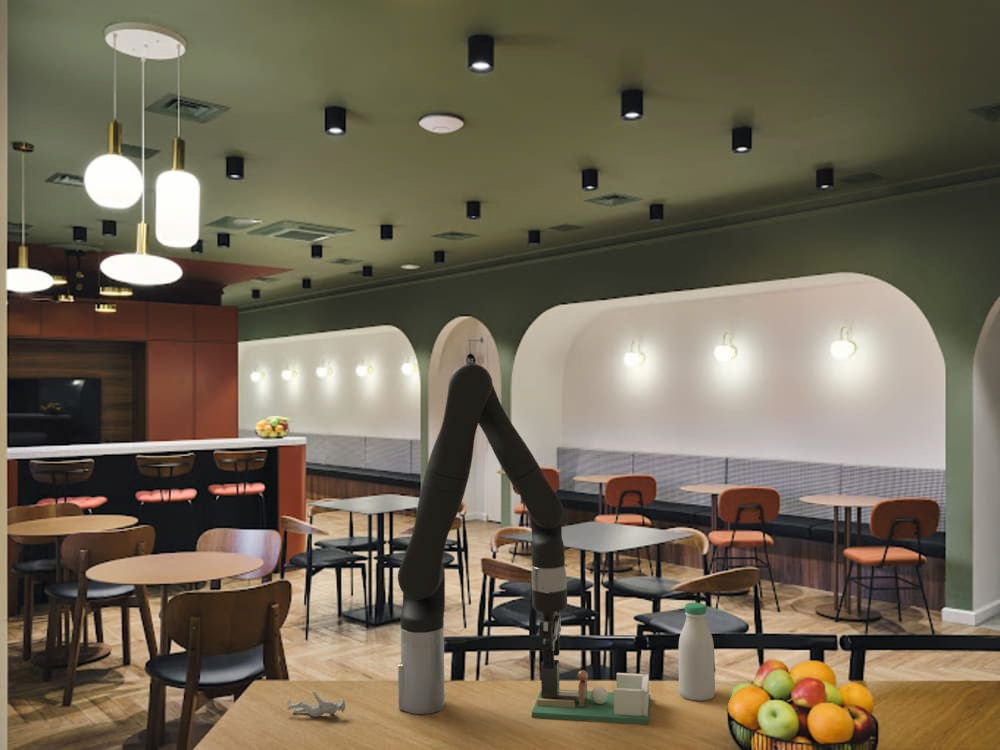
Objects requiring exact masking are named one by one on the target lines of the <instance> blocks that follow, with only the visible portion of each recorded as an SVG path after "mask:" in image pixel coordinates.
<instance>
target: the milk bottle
mask: <svg viewBox="0 0 1000 750" xmlns="http://www.w3.org/2000/svg"><path fill="white" fill-rule="evenodd" d="M684 611H685V612H684V615H685V617H686V618H685V622H684V625H683V627H682V629H681V632H680V634H679V635H680V636H679V638H678V639H679V640H678V692H679V695H680V696H681V698H684V699H686V700H690V701H698V702H699V701H702V702H703V701H708V700H711V699H713V698H714V697H715V693H716V690H715V689H716V688H715V687H716V685H715V684H716V683H715V679H716V678H715V676H716V675H715V648H714V647H715V646H714V645H715V644H714V639H713V635H712V633H711V630H710V628H709V626H708V624H707V621H706V616H707V605H706V604H704V603H701V602H689V603H686V604H685V605H684Z"/></svg>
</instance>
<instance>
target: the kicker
mask: <svg viewBox="0 0 1000 750" xmlns="http://www.w3.org/2000/svg"><path fill="white" fill-rule="evenodd" d="M540 670H541V671H540V672H541V673H540V675H541V678H540V679H541V682H540V683H541V689H542V698H544V699H561V700H575V702H579V706H580V707H585V703H586V699H587V691H588V677H589V673H588V672H587V671H586V670H584V669H583V670H579V671H578V672H577V678H578V680H579V683H578V691H579V694H577V693H560V692H559V689H560V659H554V668H553V669H545V668H544V666H543V660H542V662H541V663H540Z"/></svg>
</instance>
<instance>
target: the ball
mask: <svg viewBox="0 0 1000 750" xmlns="http://www.w3.org/2000/svg"><path fill="white" fill-rule="evenodd" d="M591 691H592V692H591V698H592V700H593V701H594V702H595V703H596V704H603V703H605V702H606V701H607V699H608V693H607V692H608V690H607V689H606V688H605V687H604V686H599V685H597V686H595V687H594V688H593V689H591Z"/></svg>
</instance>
